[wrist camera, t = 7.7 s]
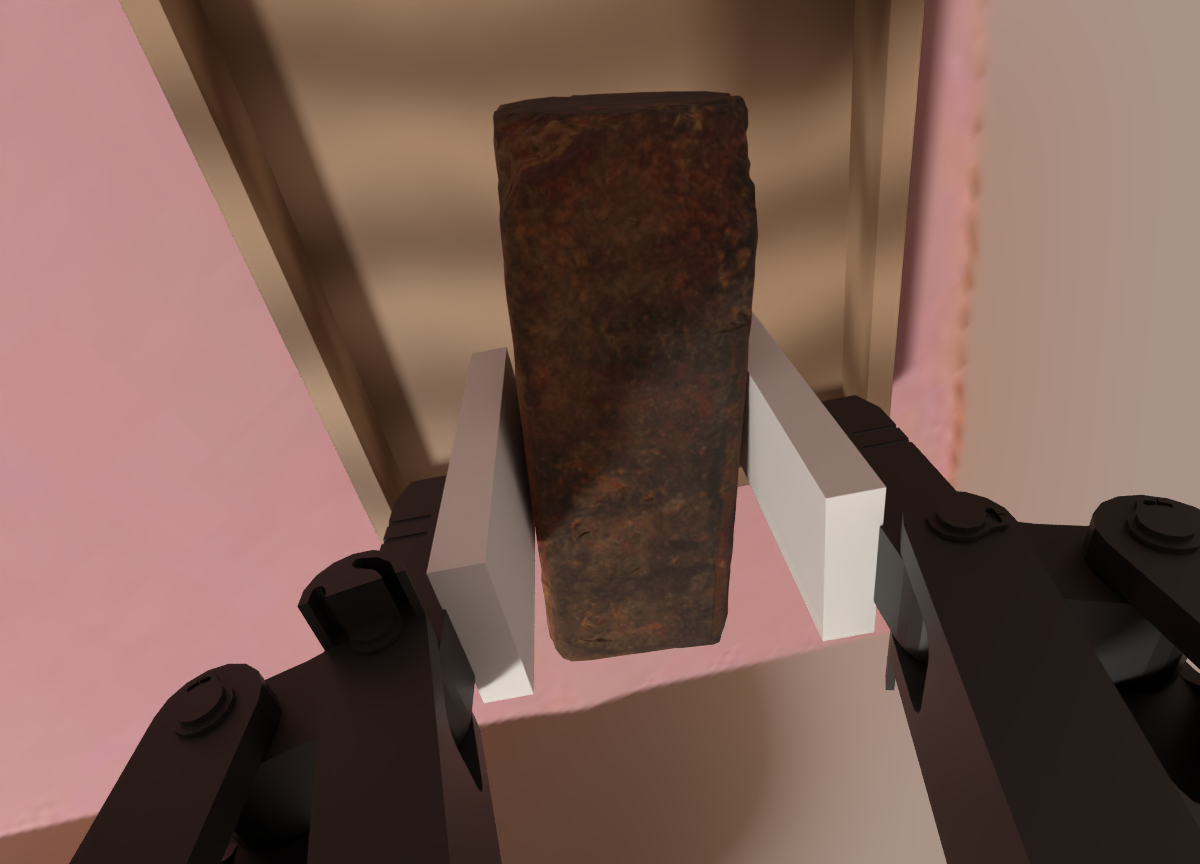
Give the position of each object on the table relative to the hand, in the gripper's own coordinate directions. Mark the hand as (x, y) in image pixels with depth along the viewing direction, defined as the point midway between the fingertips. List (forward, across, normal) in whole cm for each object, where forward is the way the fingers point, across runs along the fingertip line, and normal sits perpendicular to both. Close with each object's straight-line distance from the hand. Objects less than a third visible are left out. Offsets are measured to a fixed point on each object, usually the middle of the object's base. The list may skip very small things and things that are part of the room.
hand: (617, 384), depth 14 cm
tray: (+12, 0, 0) cm, 12 cm away
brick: (+1, 0, 0) cm, 1 cm away
